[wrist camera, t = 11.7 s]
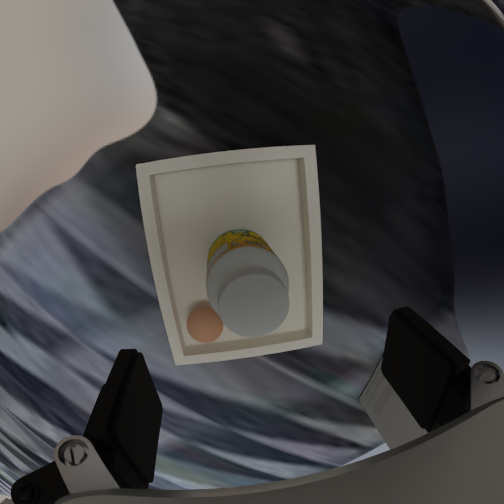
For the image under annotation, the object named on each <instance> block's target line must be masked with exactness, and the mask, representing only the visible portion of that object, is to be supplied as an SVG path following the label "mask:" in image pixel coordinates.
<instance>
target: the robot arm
mask: <svg viewBox="0 0 504 504" xmlns="http://www.w3.org/2000/svg"><path fill="white" fill-rule="evenodd" d="M469 363H470V360H469V359H468V358H467V357H466V356H465V355H464V354H463V353H462V352H460V351H459V350H458V349H457V348H456V347H455V346H454V345H453V344H452V343H450V342H449V341H448V340H447V339H446V338H445V337H444V336H442V335H441V334H440V333H439V332H438V331H437V330H435V329H434V328H433V327H432V326H431V325H430V324H429V323H427V322H426V321H425V320H424V319H423V318H421V317H420V316H419V315H418V314H417V313H416V312H414V311H413V310H412V309H411V308H410V307H408V306H406V307H402V308H398V309H395V310H394V311H393V313H392V314H391V315H390V317H389V324H388V331H387V337H386V343H385V349H384V354H383V360H382V365H381V371H382V374H383V376H384V377H385V378H386V380H387V381H388V383H389V384H390V385H391V387H392V388H393V389H394V391H395V392H396V394H397V395H398V396H399V398H400V399H401V401H402V402H403V403H404V405H405V406H406V408H407V409H408V410H409V412H410V413H411V415H412V416H413V417H414V419H415V420H416V422H417V423H418V424H419V426H420V427H421V428H422V429H425V430H426V431H427V432H428V433H427V434H425V435H423V436H421V437H419V438H416V439H414V440H412V441H410V442H408V443H405V444H403V445H401V446H398V447H396V448H393V449H391V450H388V451H386V452H383V453H380V454H378V455H375V456H372V457H369V458H366V459H364V460H361V461H358V462H354V463H352V464H348V465H345V466H341V467H338V468H334V469H331V470H327V471H323V472H319V473H315V474H311V475H307V476H302V477H298V478H293V479H288V480H282V481H277V482H271V483H264V484H257V485H250V486H241V487H231V488H218V489H196V490H156V489H148V485H149V483H152V482H153V479H154V471H155V462H156V454H157V447H158V439H159V432H160V425H161V419H162V412H163V409H162V403H161V401H160V399H159V396H158V394H157V391H156V389H155V386H154V384H153V381H152V378H151V376H150V373H149V371H148V368H147V365H146V362H145V360H144V357H143V354H142V353H141V352H139V353H138V351H137V350H136V349H121V350H120V351H119V353H118V356H117V358H116V360H115V363H114V365H113V367H112V370H111V372H110V374H109V377H108V379H107V381H106V384H104V385H103V387H102V388H101V391H100V393H99V396H98V398H97V401H96V403H95V406H94V408H93V411H92V413H91V416H90V418H89V421H88V424H87V426H86V429H85V432H84V435H83V436H78V435H76V436H69V437H66V438H64V439H63V440H61V441H60V442H59V443H58V444H57V446H56V448H55V450H54V459H55V461H53V462H52V463H50V464H48V465H46V466H44V467H42V468H40V469H38V470H36V471H34V472H32V473H30V474H28V475H26V476H24V477H21V478H20V479H18V480H17V481H16V482H15V483H14V484H13V486H12V489H11V497H12V499H10V500H9V499H7V498H6V499H5V500H4V501H3V502H1V503H0V504H504V374H503V371H502V369H501V368H500V367H499V366H498V365H497V364H495V363H493V362H489V361H480V362H477V363H475V364H474V365H473V366H472V368H471V367H470V366H469Z"/></svg>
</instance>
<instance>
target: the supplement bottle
mask: <svg viewBox="0 0 504 504" xmlns="http://www.w3.org/2000/svg"><path fill="white" fill-rule="evenodd" d="M288 291H289V278H288V274H287V271H286V269H285V267H284V265H283V263H282V262H281V261H280V259H279V258H278V257H277V255H276V254H275V253H274V252H273V250H272V249H271V248H270V246H269V245H268V244H267V242H266V241H265V240H264V239H263V238H262V237H261V236H260V235H259V234H257V233H256V232H254V231H251V230H248V229H232V230H228V231H226V232H224V233H222V234H221V235H219V236H218V237H217V238H216V239H215V240H214V242H213V243H212V245H211V247H210V249H209V252H208V257H207V275H206V292H207V297H208V300H209V302H210V304H211V306H212V308H213V309H214V310H215V312H216V313H217V314H218V315H219V316H220V318H221V320H222V322H223V323H224V325H225V326H226V327H227V328H228V329H229V330H230V331H232V332H233V333H235V334H237V335H240V336H244V337H260V336H264V335H266V334H269V333H271V332H272V331H274V330H275V329H277V328H278V327H279V326H280V325H281V324H282V323H283V321H284V320H285V318H286V316H287V314H288V310H289V305H290V304H289V295H288Z"/></svg>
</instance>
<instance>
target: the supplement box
mask: <svg viewBox="0 0 504 504" xmlns="http://www.w3.org/2000/svg"><path fill="white" fill-rule="evenodd" d="M382 360H383V357H382V359H381V360H380V362H379V364H378V366H377V368H376V370H375V372H374V374H373V375H372V377H371V379H370V381H369V383H368V384H367V386H366V388H365V390H364V391H363V393H362V395H361V397H360V398H359V401H360V403H361V404H362V406H363V407H364V409H365V411H366V412H367V414H368V415H369V417H370V418H371V420H372V422H373V423H374V425H375V426H376V428H377V429H378V431H379V433H380V434H381V436H382V437H383V439H384V441H385V442H386V443H387V445H388V447H389V448H390V450H391V449H393V448H396V447H398V446H401V445H403V444H405V443H408V442H410V441H412V440H414V439H416V438H419V437H421V436H423V435H425V434H427V433H428V432H427V431H426V430H425V429H422V428H421V427H420V426H419V424H418V423H417V422H416V420H415V419H414V417H413V416H412V415H411V413H410V412H409V410H408V409H407V408H406V406H405V405H404V403H403V402H402V401H401V399H400V398H399V396H398V395H397V394H396V392H395V391H394V389H393V388H392V387H391V385H390V384H389V383H388V381H387V380H386V378H385V377H384V376H383V374H382V371H381V365H382Z"/></svg>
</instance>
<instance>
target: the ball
mask: <svg viewBox="0 0 504 504" xmlns="http://www.w3.org/2000/svg"><path fill="white" fill-rule="evenodd" d="M187 330H188V333H189V334H190V336H191V337H192V338H193V339H194V340H196V341H198V342H201V343H210V342H213V341H215V340H216V339H218V338H219V336H220V335H221V333H222V331H223V322H222V320H221V318H220V316H219V315H218V314H217V313H216V312H215V310H214V309H213V308H210V307H199V308H196V309H195V310H193V311H192V312H191V313H190V315H189V316H188V319H187Z"/></svg>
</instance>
